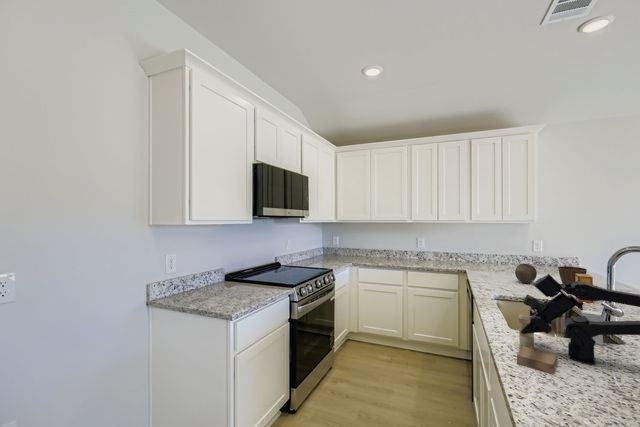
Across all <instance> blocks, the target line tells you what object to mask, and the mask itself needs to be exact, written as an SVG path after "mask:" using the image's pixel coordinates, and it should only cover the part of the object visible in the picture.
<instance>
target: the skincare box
mask: <svg viewBox="0 0 640 427" xmlns="http://www.w3.org/2000/svg"><path fill="white" fill-rule="evenodd" d="M581 316H586V318H587V319H588V320H589V321H595V322H599V321H603V319H602V313H601V312H598V311H591V310H584V309H583V310H581ZM592 338H593V339H594V340H595V342H596V343H595V345H600V346H604V335H598V336H595V337H592Z"/></svg>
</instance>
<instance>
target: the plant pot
mask: <svg viewBox="0 0 640 427" xmlns="http://www.w3.org/2000/svg"><path fill="white" fill-rule="evenodd" d="M557 268H558V269H557V270H558V273H559V277H560V280H561V284H572V283H573V282H575V273H576V274H587V271H588V269H587V268H584V267H578V266H577V267H576V266H567V265H566V266H558V267H557Z"/></svg>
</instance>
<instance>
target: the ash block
mask: <svg viewBox="0 0 640 427" xmlns="http://www.w3.org/2000/svg"><path fill="white" fill-rule="evenodd" d="M531 317H532V316H531ZM529 323H530V315H527V314H518V326H519V327H518V329H519V330H518V332H519V333H518V334H519V350H520V349H521V348H522V346H525V347H529V348H533V349H535V337H534V336H535V335H534V334H535V333H528V334H523V333H522V332H521V331H522V330H523V329H524V328H525V327H526V326H527V325H528V324H529Z"/></svg>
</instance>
